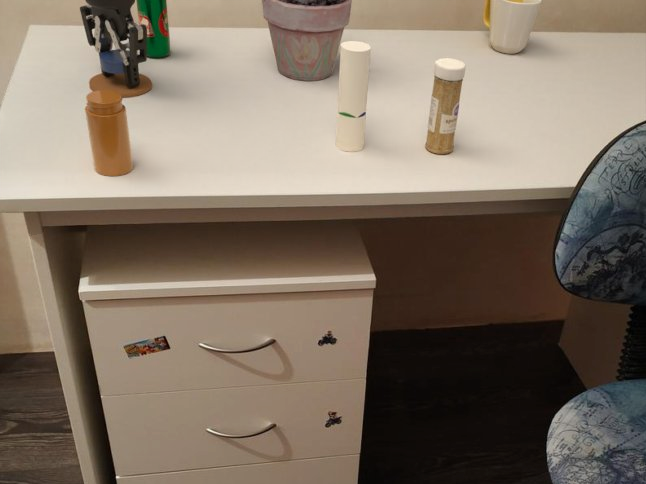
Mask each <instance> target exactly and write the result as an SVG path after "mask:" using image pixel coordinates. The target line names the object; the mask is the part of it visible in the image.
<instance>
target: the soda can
mask: <svg viewBox="0 0 646 484" xmlns="http://www.w3.org/2000/svg"><path fill="white" fill-rule="evenodd" d="M135 2H136V9H137V19H138V25H143V24H144V25H145V26H146V28H147V58H148V57H149V58H153V59H162V58H163V59H164V58H166V57H168V56H169V55H170V54H171V50H172V49H171V38H170V28H169V14H168V3H167V0H135Z"/></svg>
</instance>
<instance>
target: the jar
mask: <svg viewBox="0 0 646 484" xmlns="http://www.w3.org/2000/svg"><path fill="white" fill-rule="evenodd" d="M85 98H86V106H85V107H84V113H85V119H86V125H87V130H88V131H87V132H88V137H89V143H90V149H91V156H92V162H93V163H92V164H93V169H94V171H95V172H96V173H97V174H99V175H101V176H102V175H103V176H106V177H119V176H124V175H128V174H129V173H131V172H132V171H133V169H134V161H133V154H132V145H131V139H130V130H129V123H128V114H127V107H126V106H125V105H124V104H123V97H122V96H121V95H120V94H119V93H117V92H114V91H109V90H99V91H91V92H88V94H86V96H85Z"/></svg>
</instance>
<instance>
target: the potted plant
mask: <svg viewBox="0 0 646 484" xmlns="http://www.w3.org/2000/svg"><path fill="white" fill-rule="evenodd" d="M352 3H353V0H261V5H262V16H263V19H264V20H265V21H266V22H267V26H268V30H269V35H270V39H271V44H272V50H273V53H274V57H275V62H276V67H277V71H278V73H280V75H282V76H284V77H286V78H288V79H292V80H296V81H303V82H317V81H322V80H326V79H327V78H329V77H330V76H331V75H333V71H334V68H335V63H336V60H337V56H338V53H339V48H340V46H341V42H342V38H343V34H344V30H345V28H346V26H348V25H349V24H350V19H351V18H350V17H351V11H352Z"/></svg>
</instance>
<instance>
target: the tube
mask: <svg viewBox="0 0 646 484" xmlns="http://www.w3.org/2000/svg"><path fill="white" fill-rule="evenodd" d="M371 49H372V47H371V45H369V44H368V43H366V42H363V41H359V40H358V41H357V40H347V41H343V42H341V43H340V55H339V75H338V93H337V94H338V96H337V112H336V113H337V116H336V133H335V134H336V136H335V146H336V148H337V149H339V150H341V151H344V152H350V153H353V152H354V153H355V152H359V151H362V150H363V149H364V143H365V130H366V118H367V117H366V116H367V113H366V112H367V105H368V104H367V102H368V91H369V76H370V64H371V63H370V62H371Z"/></svg>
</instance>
